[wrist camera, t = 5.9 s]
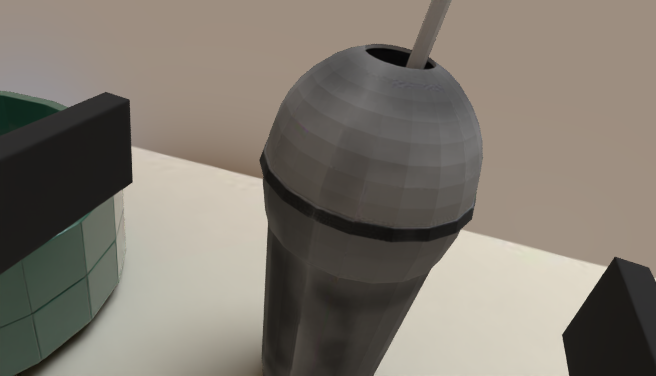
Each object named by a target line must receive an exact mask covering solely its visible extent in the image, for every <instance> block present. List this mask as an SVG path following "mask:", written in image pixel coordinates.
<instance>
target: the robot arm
mask: <svg viewBox="0 0 656 376" xmlns="http://www.w3.org/2000/svg"><path fill="white" fill-rule="evenodd" d="M130 128H131V127H130V101H129V99H126V98H123V97H120V96H117V95H113V94H110V93H107V92H105V93H102V94H100V95H98V96H95V97H93V98H91V99H88V100H86V101H83V102H81V103H78V104H76V105H74V106H71V107H69V108H66V109H64V110H62V111H59V112H57V113H54V114H52V115H50V116H47V117H45V118H42V119H40V120H38V121H35V122H33V123H30V124H28V125H26V126H23V127H21V128H18V129H16V130H13V131H11V132H9V133H6V134H4V135H1V136H0V275H1V274H2V273H3V272H5V271H6V270H8V269H9V268H11V267H12V266H13V265H15V264H16V263H18V262H19V261H21V260H22V259H23V258H25V257H26V256H28V255H29V254H31V253H32V252H33V251H35V250H36V249H38V248H39V247H41V246H42V245H44V244H45V243H46V242H48V241H49V240H51V239H52V238H54V237H55V236H56V235H58V234H59V233H61V232H62V231H64V230H65V229H66V228H68V227H69V226H71V225H72V224H74V223H75V222H76V221H78V220H79V219H81V218H82V217H84V216H85V215H86V214H88V213H89V212H91V211H92V210H94V209H95V208H96V207H98V206H99V205H101V204H102V203H104V202H105V201H107V200H108V199H109V198H111V197H112V196H114V195H115V194H117V193H118V192H119V191H121V190H122V189H124V188H125V187H127V186H128V185H129V184H131V183H132V182H133V181H132V154H131V129H130ZM562 337H563V342H564V348H565V354H566V360H567V365H568V371H569V376H656V281H655V279H654V277H653V275H652V273H651V271H650V269H649V268H648V267H645V266H642V265H639V264H636V263H633V262H629V261H627V260H623V259H621V258H617V257H614V259H613V260H612V262H611V263H610V265H609V266H608V268H607V269H606V271H605V272H604V274H603V275H602V277H601V278H600V280H599V281H598V283H597V284H596V286H595V287H594V289H593V290H592V291H591V293H590V294H589V296H588V297H587V299H586V300H585V302H584V303H583V305H582V306H581V308H580V309H579V311H578V312H577V314H576V315H575V317H574V318H573V320H572V321H571V323H570V324H569V325H568V327H567V328H566V330H565V331H564V333H563V334H562Z"/></svg>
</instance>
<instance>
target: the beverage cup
mask: <svg viewBox="0 0 656 376" xmlns="http://www.w3.org/2000/svg"><path fill="white" fill-rule="evenodd" d="M450 3H451V0H432V1H431V4H430V6H429V9H428V11H427V14H426V17H425V19H424V21H423V24H422V27H421V29H420V32H419V34H418V37H417V39H416V42H415V45H414V47H413V50H410V49H406V48H403V47H398V46H393V45H386V44H371V45H365V46H357V47H351V48H349V49H346V50H343V51H340V52H337V53H335V54H334V55H332V56H331V57H329V58H327V59H325V60H323V61H322V62H320V63H318V64H317V65H315V66H313V67H312V68H311V69H310V70H309V71H307V72H306V73H305V74H304V75H303V76H301V77H300V79H299V80H298V81H297V82H296V83H295V85H294V86H293V87H292V88H291V89H290V90H289V92H288V94H287V95H286V97H285V99H284V100H283V102H282V104H281V106H280V108H279V111H278V113H277V116H276V118H275V121H274V123H273V126H272V129H271V131H270V134H269V137H268V140H267V142H266V145H265V147H264V150H263V152H262V155H261V157H260V164H261V168H262V172H263V176H264V177H263V189H264V200H265V211H266V215H267V219H268V235H267V256H266V278H265V299H264V320H263V341H262V363H263V376H373V375H374V373H375V372H376V370H377V368H378V366H379V364H380V362H381V360H382V359H383V357H384V355H385V353H386V351H387V349H388V348H389V346H390V344H391V342H392V340H393V338H394V336H395V335H396V333H397V331H398V329H399V327H400V325H401V324H402V322H403V320H404V318H405V316H406V314H407V312H408V311H409V309H410V307H411V305H412V303H413V301H414V300H415V298H416V296H417V294H418V292H419V290H420V288H421V287H422V285H423V283H424V281H425V279H426V277H427V276H428V274H429V272H430V270H431V268H432V267H433V266H434V265H435V264H436V263H437V262H438V261H440V259H441V258H442V257H443V255H444V254H445V253H446V251H447V250H448V249H449V247H450V246H451V244H452V243H453V242H454V240H455V239H456V238H457V236H458V234H459V232H460V230H461V229H462V228H463V227H464V226H465V225H466V224H467V223H468V222H469V221H470V220H472V216H473V210H474V206H475V200H476V191H477V187H478V182H479V177H480V171H481V165H482V159H483V157H482V137H481V132H480V127H479V123H478V120H477V117H476V115H475V112H474V109H473V107H472V105H471V103H470V101H469V99H468V98H467V96H466V94H465V93H464V91H463V89H462V88H461V86H460V84H459V83H458V82H457V81H456V80H455V79H454V78H453V76H452V75H451V74H450V73H449V72H448V71H447V70H445V69H444V68H443V67H442V66H440V65H439V64H437V63H436V62H435V61H433V60H432V59H431V58H429V54H430V52H431V50H432V47H433V44H434V42H435V40H436V37H437V35H438V32H439V30H440V27H441V25H442V23H443V20H444V18H445V15H446V13H447V10H448V8H449V5H450Z"/></svg>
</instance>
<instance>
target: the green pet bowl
mask: <svg viewBox="0 0 656 376" xmlns="http://www.w3.org/2000/svg"><path fill="white" fill-rule="evenodd" d="M66 108H68V107H66V106H64V105H61V104H59V103H57V102H54V101H50V100H46V99H41V98H36V97H31V96H27V95H23V94H18V93H14V92H6V91H0V136H1V135H4V134H6V133H9V132H11V131H13V130H16V129H18V128H21V127H23V126H26V125H28V124H30V123H33V122H35V121H38V120H40V119H42V118H45V117H47V116H50V115H52V114H54V113H57V112H59V111H62V110H64V109H66ZM125 251H126V242H125V222H124V203H123V189H122V190H121V191H119V192H118V193H117V194H115V195H114V196H112V197H111V198H109V199H108V200H107V201H105V202H104V203H102V204H101V205H99V206H98V207H96V208H95V209H94V210H92V211H91V212H89V213H88V214H86V215H85V216H84V217H82V218H81V219H79V220H78V221H76V222H75V223H74V224H72V225H71V226H69V227H68V228H66V229H65V230H64V231H62V232H61V233H59V234H58V235H56V236H55V237H54V238H52V239H51V240H49V241H48V242H46V243H45V244H44V245H42V246H41V247H39V248H38V249H36V250H35V251H33V252H32V253H31V254H29V255H28V256H26V257H25V258H23V259H22V260H21V261H19V262H18V263H16V264H15V265H13V266H12V267H11V268H9V269H8V270H6V271H5V272H3V273H2V274H1V275H0V376H14V375H16V374H18V373H20V372H22V371H24V370H26V369H28V368H30V367H32V366H34V365H36V364H38V363H40V362H41V360H44V359H45V358H46V357H47V356H49V355H50V354H51V353H52V352H54V351H55V350H56V349H57V348H59V347H60V346H61V345H62V344H64V343H65V342H66V341H67V340H68V339H70V338H71V337H72V336H73V335H75V334H76V333H77V332H78V331H80V330H81V329H82V328H83V327H85V326H86V325H87V324H88V323H89V322H90V321H91V320H92V319H93V318H94V317H95V315H96V314H97V312H98V311H99V309H100V308H101V307H102V305H103V304H104V302H105V301H106V300H107V298H108V297H109V295H110V294H111V292H112V291H113V290H114V288H115V287H116V285H117V284H118V283H119V279H120V275H121V270H122V265H123V261H124V256H125Z"/></svg>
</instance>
